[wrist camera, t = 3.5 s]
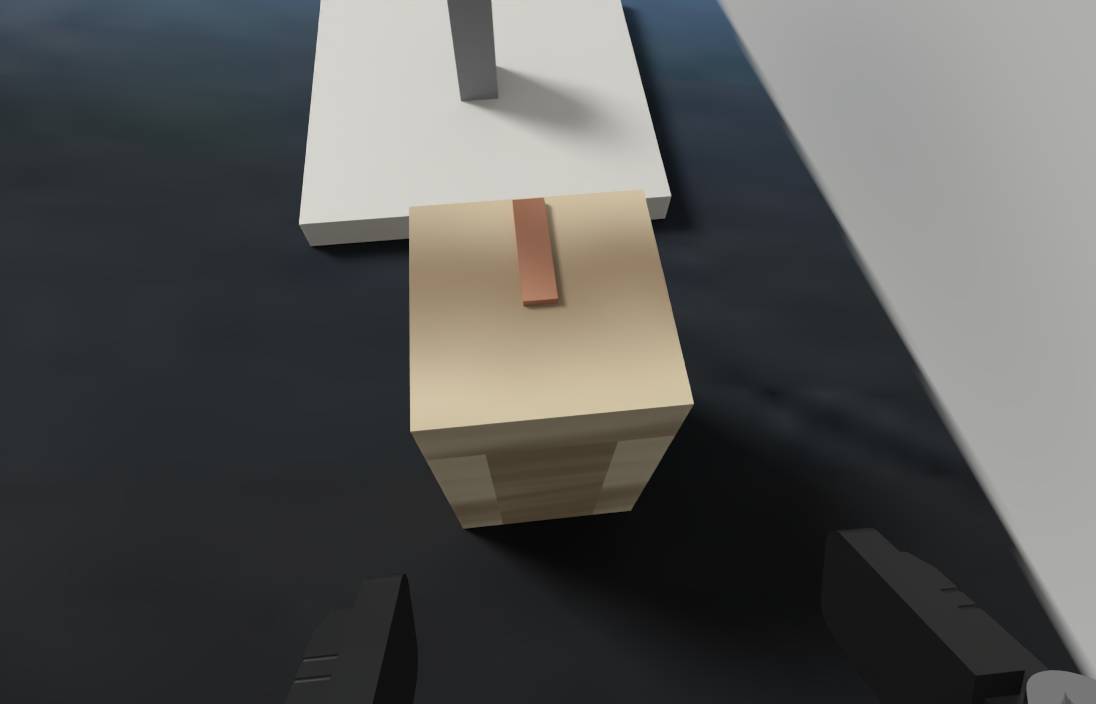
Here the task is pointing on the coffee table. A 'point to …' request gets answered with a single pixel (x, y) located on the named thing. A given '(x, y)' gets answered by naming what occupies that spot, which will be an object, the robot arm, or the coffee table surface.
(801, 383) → the coffee table surface
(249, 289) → the coffee table surface
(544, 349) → the beige wooden tall block
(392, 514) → the coffee table surface
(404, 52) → the plate
